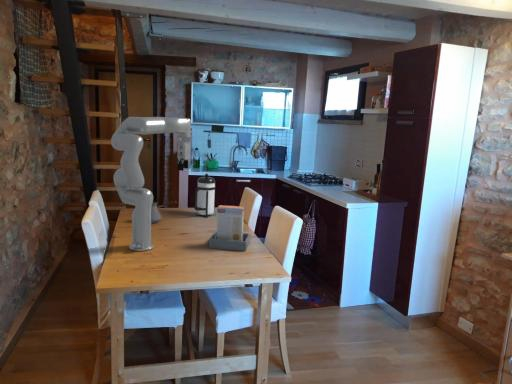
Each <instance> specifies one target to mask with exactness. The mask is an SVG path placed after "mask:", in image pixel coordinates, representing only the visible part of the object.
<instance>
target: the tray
mask: <svg viewBox="0 0 512 384" xmlns="http://www.w3.org/2000/svg"><path fill="white" fill-rule="evenodd" d="M216 238H217V230H215V231H214V232H213V234H212V235H211V236H210V237H209V239H208V248H209V249H218V250H229V251H238V252H239V251H241V252H246V251H247V249H248V246H249V244H250V239H251V234H250V233H247V232H246V233H244V232H243V241H232V240H220V239H216Z"/></svg>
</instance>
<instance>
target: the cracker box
mask: <svg viewBox="0 0 512 384" xmlns="http://www.w3.org/2000/svg"><path fill="white" fill-rule="evenodd" d="M216 214H217V215H216V231H217V238H216V239H220V240H232V241H243V233H244V217H245V207H244V206H239V205H238V206H236V205H222V204H220V205H218V206H217V213H216Z"/></svg>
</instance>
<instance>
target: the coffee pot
mask: <svg viewBox="0 0 512 384" xmlns="http://www.w3.org/2000/svg"><path fill="white" fill-rule="evenodd" d="M174 203H175V204H177V203H178V202H177V200H174V201H173V200H172V201H171V202H167V203H164V204H162V205H158V202H157V201H153V203H152V208H151V225H152V224H158V223H159V222H160V221H161V220H162V214H161V213H160V211H159V208H162V207H165V206H169V205H171V204H174Z"/></svg>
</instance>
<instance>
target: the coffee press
mask: <svg viewBox="0 0 512 384" xmlns="http://www.w3.org/2000/svg"><path fill="white" fill-rule="evenodd" d="M196 181H197V182H196V183H197V186H196V187H197V188H195V191H194V194H193V209H194V210H195V212H194V215H196V216H198V215H201V216H205V218H207V219H208V216H211V215H214V216H217V215H216V214H217V213H215V201H216V200H215V199H216V198H215V197H216V196H215V195H216V180H215V178H214V177H211V176H209V174H208V173H205V174H204V176H200V177H198V179H197V180H196Z"/></svg>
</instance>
